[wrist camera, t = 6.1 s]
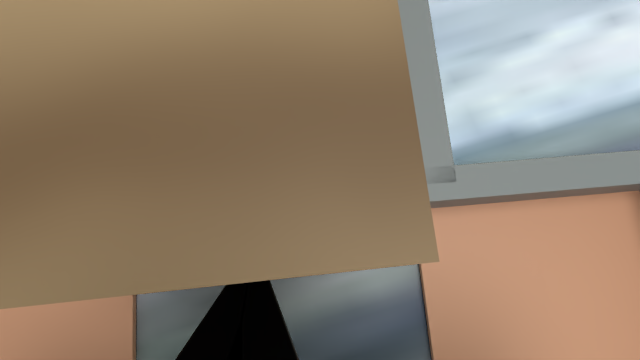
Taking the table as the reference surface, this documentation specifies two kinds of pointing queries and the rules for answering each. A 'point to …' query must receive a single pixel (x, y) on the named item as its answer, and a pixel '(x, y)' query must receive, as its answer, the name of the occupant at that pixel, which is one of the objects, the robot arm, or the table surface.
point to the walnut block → (203, 145)
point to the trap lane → (459, 253)
